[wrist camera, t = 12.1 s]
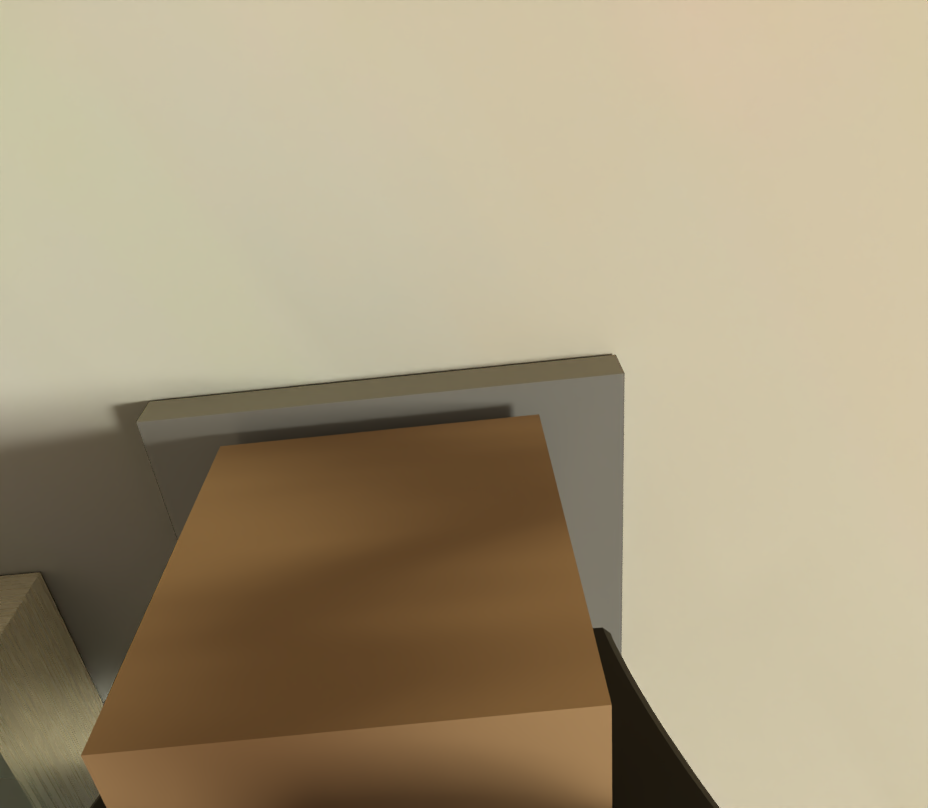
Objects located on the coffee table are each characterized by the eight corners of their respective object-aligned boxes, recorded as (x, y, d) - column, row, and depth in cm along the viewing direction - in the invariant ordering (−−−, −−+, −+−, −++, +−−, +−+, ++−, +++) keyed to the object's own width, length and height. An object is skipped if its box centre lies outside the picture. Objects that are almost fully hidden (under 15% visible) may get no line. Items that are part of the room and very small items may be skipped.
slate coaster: (615, 354, 12) (624, 372, 11) (614, 678, 15) (620, 705, 15) (149, 401, 12) (136, 422, 11) (254, 713, 15) (248, 740, 15)
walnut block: (539, 414, 11) (611, 704, 7) (551, 647, 13) (613, 985, 9) (220, 445, 11) (80, 755, 7) (284, 673, 13) (212, 1021, 9)
